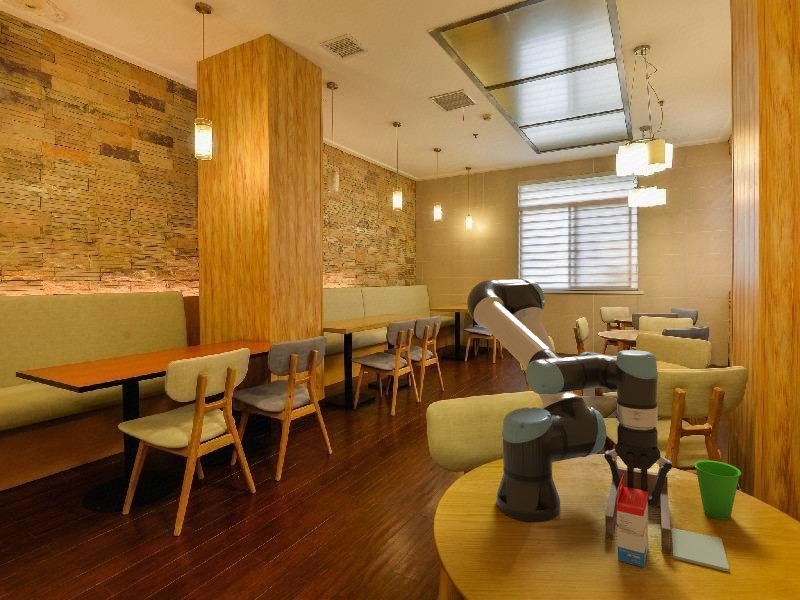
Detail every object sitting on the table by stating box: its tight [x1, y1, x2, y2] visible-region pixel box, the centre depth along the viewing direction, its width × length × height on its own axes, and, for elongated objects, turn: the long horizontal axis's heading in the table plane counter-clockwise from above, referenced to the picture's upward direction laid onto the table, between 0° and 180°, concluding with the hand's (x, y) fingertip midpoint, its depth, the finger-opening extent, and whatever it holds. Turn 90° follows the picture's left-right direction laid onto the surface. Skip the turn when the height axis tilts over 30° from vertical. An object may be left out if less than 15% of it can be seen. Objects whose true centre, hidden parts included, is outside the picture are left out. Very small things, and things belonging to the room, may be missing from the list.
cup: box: [693, 459, 742, 520], centre depth 104 cm, size 9×9×11 cm
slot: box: [604, 466, 671, 554], centre depth 101 cm, size 12×20×8 cm, turn 150°
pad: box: [670, 527, 730, 573], centre depth 91 cm, size 9×11×1 cm
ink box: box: [616, 474, 649, 568], centre depth 90 cm, size 8×5×15 cm, turn 146°
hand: (637, 532), depth 95 cm, fingers closed
